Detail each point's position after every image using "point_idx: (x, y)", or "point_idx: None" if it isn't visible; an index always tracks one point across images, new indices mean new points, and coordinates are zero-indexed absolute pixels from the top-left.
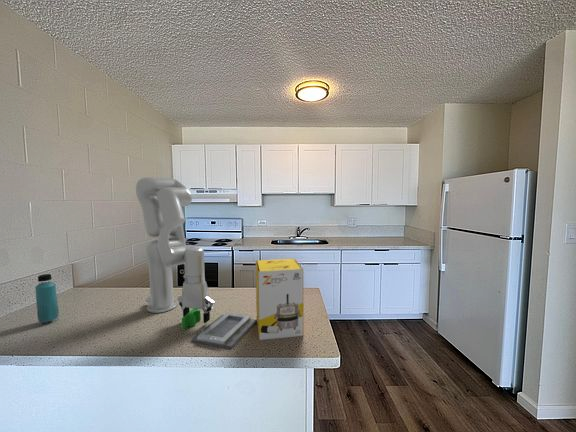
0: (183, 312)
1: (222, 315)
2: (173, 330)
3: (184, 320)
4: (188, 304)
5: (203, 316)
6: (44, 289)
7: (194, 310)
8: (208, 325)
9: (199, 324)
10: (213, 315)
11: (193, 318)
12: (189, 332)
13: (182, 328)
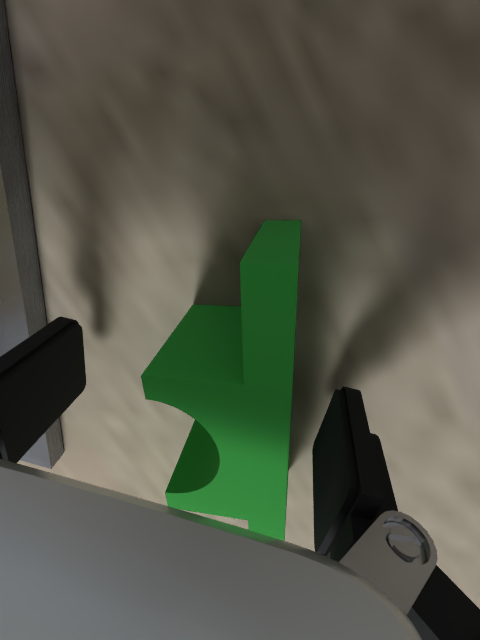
0: (367, 463)
1: (38, 455)
2: (412, 178)
3: (246, 253)
4: (160, 617)
5: (22, 364)
6: None
7: (235, 504)
8: (17, 286)
9: (167, 338)
10: (144, 474)
11: (174, 351)
12: (169, 155)
13: (295, 222)
